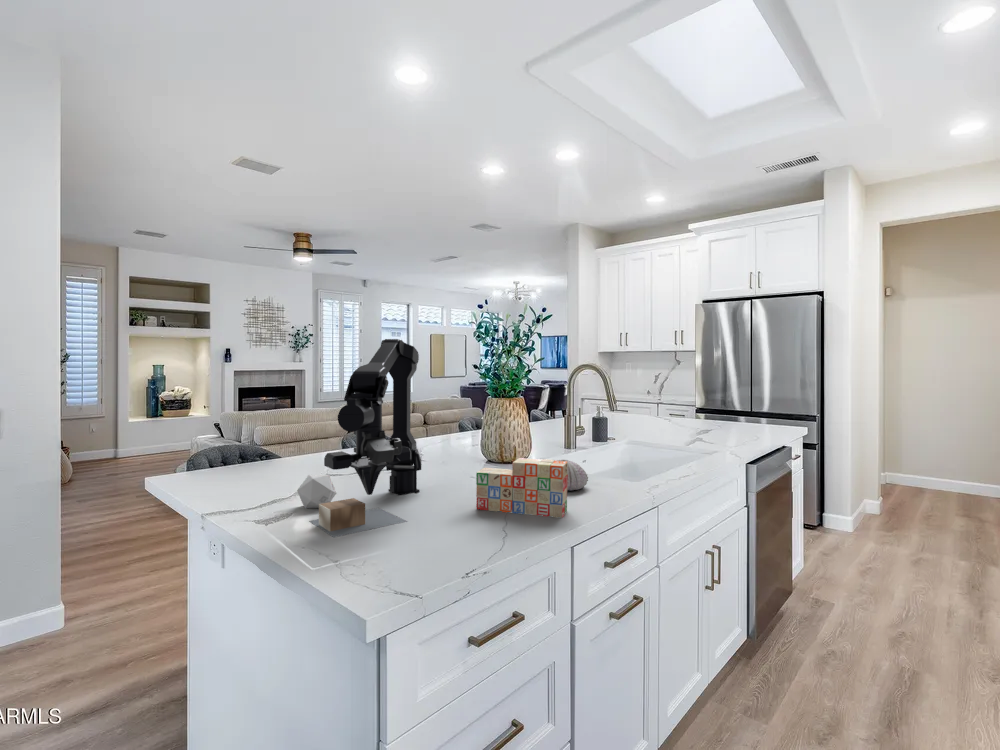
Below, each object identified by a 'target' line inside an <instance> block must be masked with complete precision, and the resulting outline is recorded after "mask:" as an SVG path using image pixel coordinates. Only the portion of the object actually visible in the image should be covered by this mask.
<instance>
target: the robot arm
mask: <svg viewBox="0 0 1000 750" xmlns="http://www.w3.org/2000/svg"><path fill="white" fill-rule="evenodd" d="M419 356H420V355H419V352H418V350H417V349H416V348H415V346H414V345H411V344H408V343H406V342H404V341H403V339H400V338H384V339H382V340H381V342H380V346H379V348H378V349H377V351H375V353H374V355H373V357H372V358H371V360H370V361H369V362H368V363H367V364H364V365H360V366H358V367H357V368H356V369H355V370H354V371H353V372H352V374H351V376H350V378H349V381H348V385H347V388H346V392H345V394H344V398H343V399H344V400H343V401H344V402H346V404H345V405H344V406H343V407H341V409H340V410H339V411H338V414H337V422H338V425H339V427H340V428H341V429H342V430H344V431H346V432H349V433H352V432H353V435H355V447H353V454H352V453H351V454H350V453H347V452H344V451H335V452H327V453H326V454H325V455H324V458H323V463H324V465H323V466H324V467H327V468H328V469H331V470H333V471H334V470H343V469H344V470H345V469H349V468H352V469H354V471H356V473H357V475H358V476H359V480H360V481H361V484H362V486H363V489H364V491H365V493H366V495H368V496H371V495H373V493H374V489H375V487H376V484H377V481H378V479H379V476H380V474H381V472H382V470H384V469H386V470H385V471H390V475H389V488H388V489H387V490H388V491H387V492H390V493H393V494H395V495H397V496H402V495H403V496H404V495H409V494H415V493H420V491H421V490H420V489H418V488H417V484H418V482H417V481H418V479H417V478H418V475H417V472H418V471H421V470H422V458H421V455H420V453H419V449H418V448H417V441H416V439H415V438H414V436H413V434H412V432H411V383H412V382H411V381H412V377H413V376H414V374H415V373H416V371H417V369H418V367H417V366H418V363H419V360H420V357H419ZM388 373H389V375H390V376H391V378H392V434H391V436H390V438H389V439H387V438H386V432H385V430H384V429H383V404H384V400H383V398H385V395H386V392H387V389H388V388H389V387H388V386H389V380H388V377H387V376H388Z"/></svg>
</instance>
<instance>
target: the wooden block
mask: <svg viewBox="0 0 1000 750" xmlns="http://www.w3.org/2000/svg"><path fill="white" fill-rule="evenodd" d="M365 510H366V503H364V502H362V500H361V501H360V500H359V499H356V498H354V497H352V498H345V499H341V500H335V501H331V502H328V503H322V504H319V508H318V519H319V525H320V526H322V527H323V528H325V529H326V530H328V531H334V530H339V529H344V528H349V527H354V526H359V525H363V524H365Z"/></svg>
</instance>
